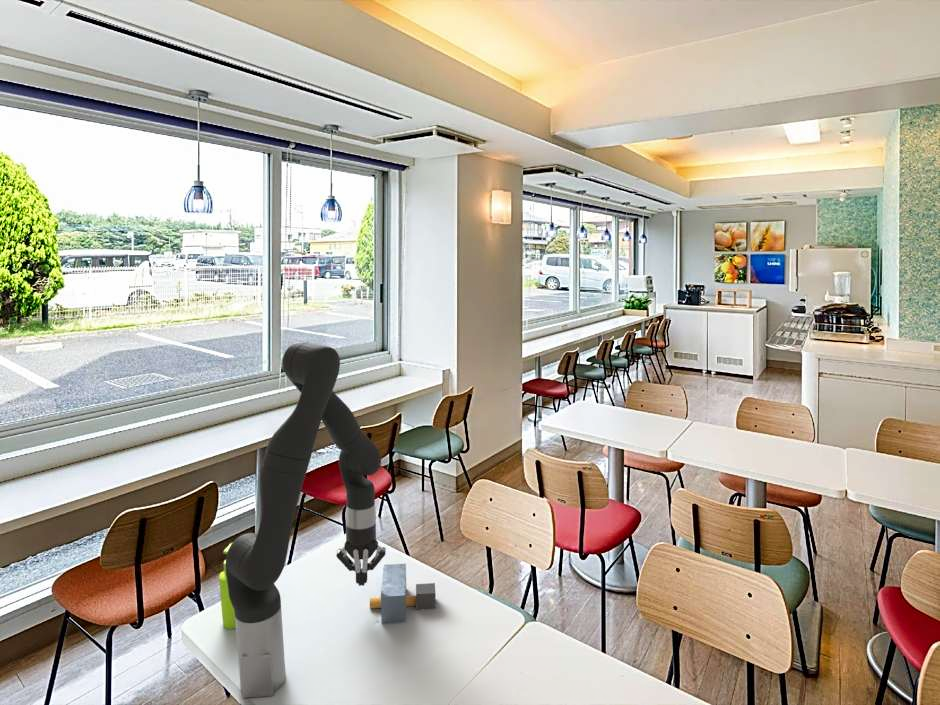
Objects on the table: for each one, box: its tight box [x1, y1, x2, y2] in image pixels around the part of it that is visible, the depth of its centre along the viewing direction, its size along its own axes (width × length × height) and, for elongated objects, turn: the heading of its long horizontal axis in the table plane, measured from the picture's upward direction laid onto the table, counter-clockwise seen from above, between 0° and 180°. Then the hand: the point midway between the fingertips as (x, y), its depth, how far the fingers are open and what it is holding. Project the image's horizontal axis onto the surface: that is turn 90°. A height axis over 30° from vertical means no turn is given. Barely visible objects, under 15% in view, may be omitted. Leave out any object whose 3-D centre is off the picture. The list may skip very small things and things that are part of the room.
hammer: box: [369, 582, 437, 611], centre depth 149 cm, size 4×17×4 cm, turn 96°
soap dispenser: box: [218, 541, 236, 630], centre depth 142 cm, size 6×7×20 cm
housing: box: [380, 563, 407, 625], centre depth 149 cm, size 14×6×8 cm, turn 6°
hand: (361, 583), depth 148 cm, fingers closed
